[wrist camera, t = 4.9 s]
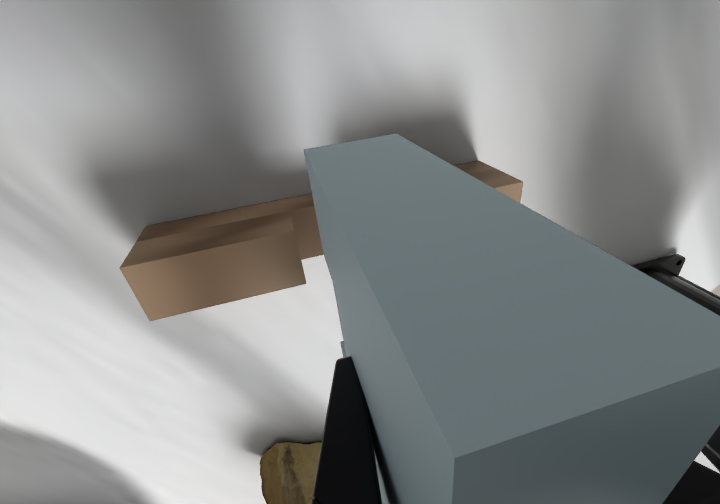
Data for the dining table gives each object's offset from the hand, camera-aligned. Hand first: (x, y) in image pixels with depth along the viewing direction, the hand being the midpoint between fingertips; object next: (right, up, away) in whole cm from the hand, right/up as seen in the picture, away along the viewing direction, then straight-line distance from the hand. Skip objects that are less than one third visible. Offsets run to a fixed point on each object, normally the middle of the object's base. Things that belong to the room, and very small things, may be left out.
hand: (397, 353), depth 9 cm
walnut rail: (-2, +5, +8) cm, 9 cm away
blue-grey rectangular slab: (-1, +1, +2) cm, 3 cm away
